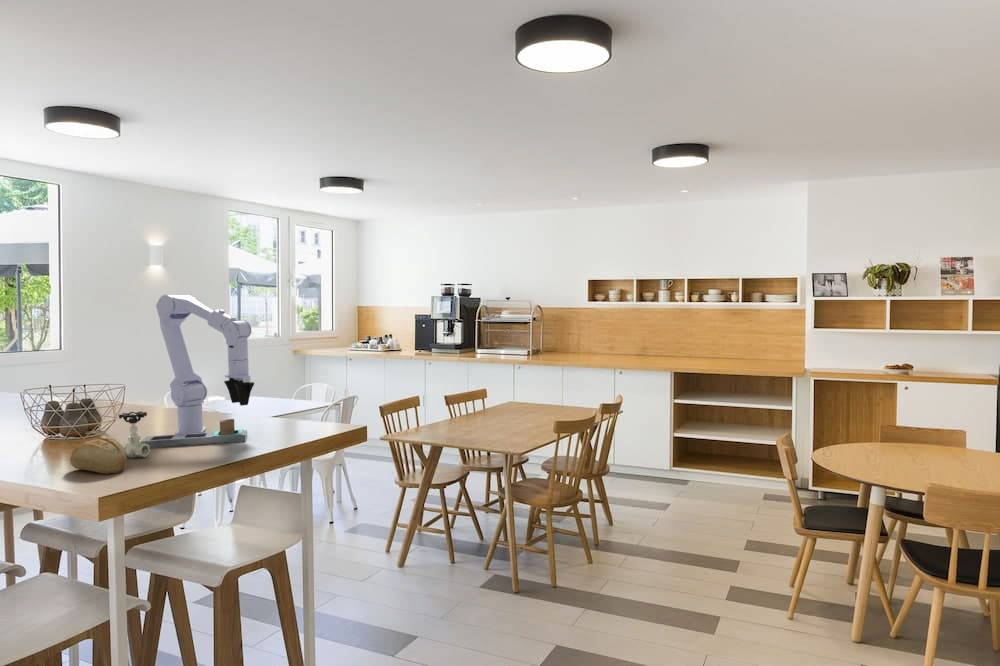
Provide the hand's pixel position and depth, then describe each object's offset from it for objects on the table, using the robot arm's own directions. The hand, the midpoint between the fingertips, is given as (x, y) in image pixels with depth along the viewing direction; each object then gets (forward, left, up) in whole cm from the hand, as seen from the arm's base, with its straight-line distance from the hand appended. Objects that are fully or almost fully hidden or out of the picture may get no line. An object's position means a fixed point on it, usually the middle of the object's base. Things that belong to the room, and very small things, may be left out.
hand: (239, 403), depth 212 cm
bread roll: (+35, -30, -10) cm, 47 cm away
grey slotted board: (+6, -12, -10) cm, 17 cm away
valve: (+22, -25, -10) cm, 35 cm away
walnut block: (+6, -3, -10) cm, 12 cm away
